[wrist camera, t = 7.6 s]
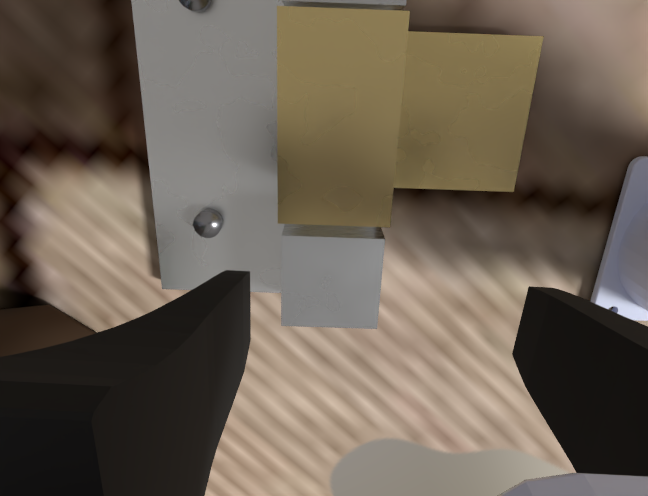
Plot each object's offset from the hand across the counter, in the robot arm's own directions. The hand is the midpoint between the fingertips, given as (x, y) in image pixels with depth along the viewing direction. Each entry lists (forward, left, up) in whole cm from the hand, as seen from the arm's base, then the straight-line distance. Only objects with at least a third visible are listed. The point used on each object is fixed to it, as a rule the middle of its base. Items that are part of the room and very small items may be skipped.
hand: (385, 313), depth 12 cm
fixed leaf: (+4, -4, -10) cm, 11 cm away
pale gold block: (-2, -4, -9) cm, 10 cm away
